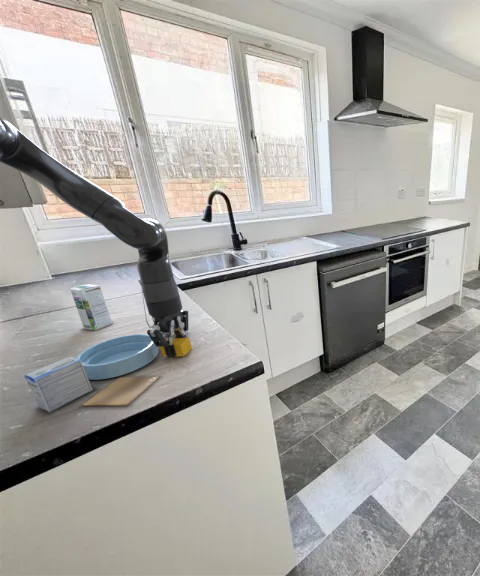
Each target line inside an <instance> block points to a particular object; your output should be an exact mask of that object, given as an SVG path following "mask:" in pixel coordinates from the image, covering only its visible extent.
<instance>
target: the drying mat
mask: <svg viewBox="0 0 480 576" xmlns="http://www.w3.org/2000/svg"><path fill="white" fill-rule="evenodd" d="M159 379H160V378H159V376H127V377H125V376H123V377H121V376H118V378H116V379H115V380H113V381H112V382H111V383H110V384H108V385H107V386H105V387H104V388H103V389H101V390H100V391H99V392H98V393H96V394H95V395H93V396H92V397H91V398H89V399H88V400H87V401H86V402H84V403H82V407H128V406H129V405H130V404H131V403H132V402H133V401H135V400H136V399H138V397H139V396H141V395H142V394H143V393H144V392H145V391H146V390H147V389H149V387H151V386H152V385H153V384H154V383H155V382H156V381H158V380H159Z"/></svg>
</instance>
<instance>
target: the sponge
mask: <svg viewBox="0 0 480 576" xmlns="http://www.w3.org/2000/svg"><path fill="white" fill-rule="evenodd" d="M166 341H168V339H167V340H166ZM173 344H174V348H175V352H176V356H175V357H184V356H186V354H188V353H189V352H190V351H192V349H193V348H192V344H191V339H190V337H185V338H173ZM159 350H160V353H161V356H162V357H167V356H166V353H165V349H164V347H159Z"/></svg>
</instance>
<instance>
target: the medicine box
mask: <svg viewBox="0 0 480 576" xmlns="http://www.w3.org/2000/svg"><path fill="white" fill-rule="evenodd" d="M24 379H25V381H26V382H27V385H28V387H29V388H30V390H31V393H32V395H33V398H34V399H35V401H36V404H37V405H38V407H39V408H41V409H42V410H45V411H46V412H48V413H51V412H54V411H55V410H57V409H59V408H61V407H63V406H65V405H67V404H69V403H71V402H73V401H74V400H76V399H78V398H80V397H83V396H84V395H86V394H88V393H90V392H92V391H93V387H92V386H91V382H90V379H88V378H87V375H86V372H85V370H84V367H83V365H82V362H81V360H78V359H76V358H75V357H71V356H67V357H65V358H62V359H60V360H58V361H55V362H52V363H50V364H47V365H45V366H43V367H41V368H38V369H36V370H34V371H31V372H29V373H26V374H24Z"/></svg>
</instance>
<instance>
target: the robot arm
mask: <svg viewBox="0 0 480 576" xmlns="http://www.w3.org/2000/svg"><path fill="white" fill-rule="evenodd" d="M0 163H1V164H3V165H6V166H8V167H9V168H12V169H14V170H16V171H18V172H20V173H22V174H24V175H25V176H27V177H28V178H30V179H32V180H34V181H36V182H37V183H38V184H40V185H41V186H42V187H44V188H46V189H47V190H48V191H49V192H50V193H52V194H53V195H54V196H55V197H57V198H58V199H59V200H61V201H62V202H63V203H64V204H66V205H68V206H69V207H70V208H72V209H74V210H76V211H77V212H79V213H81V214H82V215H84V216H85V217H87V218H89V219H91V220H92V221H94V222H96V223H98V224H100V225H101V226H102V227H104V229H106V230H107V231H108V232H109V233H110V234H112V235H113V236H114V237H115V238H117V239H118V240H119V241H121V242H122V243H124V244H125V245H128V246H129V247H132V248H134V249H136V250H137V251H138V252H137V253H138V259H137V262H136V269H137V272H138V276H139V280H140V279H141V283H142V288H141V292H143V295H142V296H143V299H144V302H145V305H146V307H147V311H148V315H149V316H150V317H151V318H152V317H153V319H154V322H153V325H154V327H153V328H151V329H147V330H146V334H147V335H149V337H150V338H151V340H152V341H153V343H154V344H155V345H156V347H157V348H160V347H164V349H165V353H166V356H165V357H168V358H174V357H177V356H176V352H175V348H174V344H173V336H174V335H175V336H176V337H175V338H186V334H185V331H186V332H188V331H189V328H190V327H189V311H188V310H182V309H183V303H182V299H181V295H180V292H179V288H178V285H177V282H176V280H175V277H174V272H173V268H172V264H171V261H170V253H169V251H170V250H169V242H168V241H169V240H168V236H167V232H166V230H165V227H164V226H163V224H162V223H160V222H159V221H158V220H156V219H153V218H149V217H144V218H141V217H139V216H138V215H136V214H134V213H133V212H132V211H130V210H129V209H128V208H127V206H126V204H125V203H124V202H123V201H121V200H120V199H119V198H117V197H116V196H115V195H113V194H111V193H109V192H108V191H106V190H105V189H103V188H101V186H98V185H97V184H96V183H94V182H92V181H90V180H89V179H88V178H86V177H84V176H82V175H81V174H79V173H78V172H76V171H74V170H72V169H70V167H67V166H66V165H64V164H63V163H61V162H60V161H58V160H57V158H54V157H53V156H51V155H50V154H49V153H47V152H46V151H45V150H43V149H42V148H41V147H39V146H38V145H37V144H36V143H35V142H33V141H32V140H31V139H30V138H28V137H27V136H26V135H25V134H24V133H22V132H21V130H19V129H18V128H16V127H15V125H13V124H12V123H11V122H10V121H8V119H7V120H6V118H4V117H2V116H0ZM182 323H184V326H183V324H182ZM177 330H178V331H177ZM164 332H169V334H165V333H164ZM184 335H185V336H184ZM165 337H167V338H168V341H166V338H165Z"/></svg>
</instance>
